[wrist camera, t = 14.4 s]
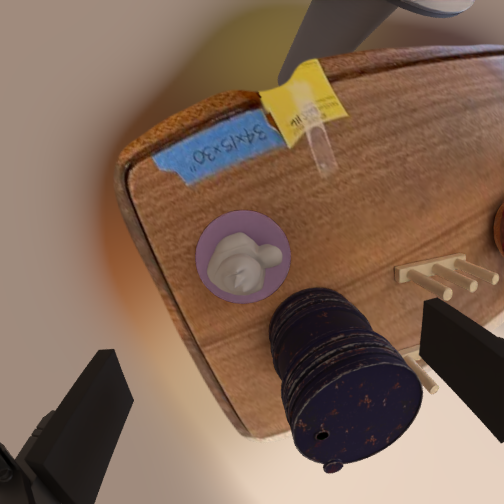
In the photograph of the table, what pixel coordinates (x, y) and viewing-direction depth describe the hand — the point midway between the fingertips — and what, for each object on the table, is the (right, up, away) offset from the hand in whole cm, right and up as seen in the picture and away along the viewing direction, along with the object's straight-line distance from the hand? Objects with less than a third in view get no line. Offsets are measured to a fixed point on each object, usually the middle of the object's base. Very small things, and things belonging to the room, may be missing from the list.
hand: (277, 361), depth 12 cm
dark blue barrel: (+6, -4, +21) cm, 22 cm away
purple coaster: (-2, +4, +19) cm, 19 cm away
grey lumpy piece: (-2, +4, +18) cm, 18 cm away
